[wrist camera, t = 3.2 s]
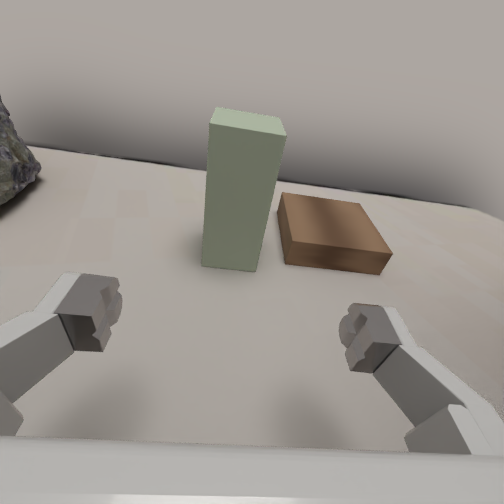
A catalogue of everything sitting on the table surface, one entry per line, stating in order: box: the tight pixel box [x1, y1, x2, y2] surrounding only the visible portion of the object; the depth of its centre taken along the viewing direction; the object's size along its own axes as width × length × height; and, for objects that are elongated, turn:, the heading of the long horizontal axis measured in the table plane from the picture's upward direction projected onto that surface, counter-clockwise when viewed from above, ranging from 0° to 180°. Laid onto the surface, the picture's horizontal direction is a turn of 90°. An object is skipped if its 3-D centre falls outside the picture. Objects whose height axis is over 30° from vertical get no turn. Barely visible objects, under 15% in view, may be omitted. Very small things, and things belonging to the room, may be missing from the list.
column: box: [201, 107, 287, 272], centre depth 21 cm, size 4×4×11 cm
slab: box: [277, 192, 393, 275], centre depth 27 cm, size 9×9×3 cm
